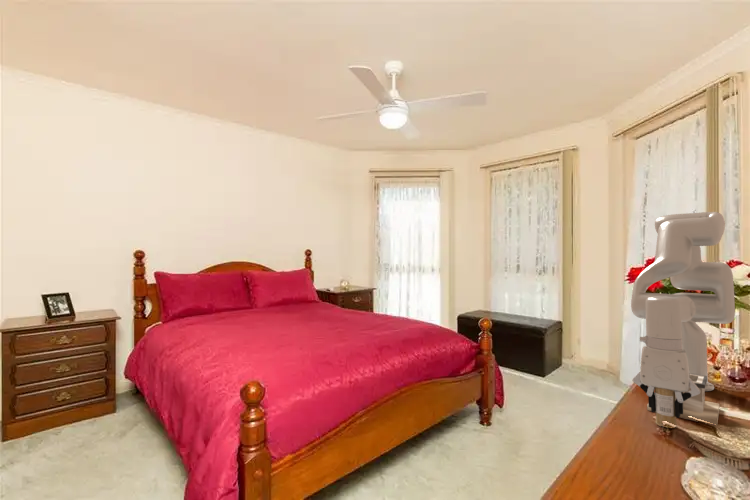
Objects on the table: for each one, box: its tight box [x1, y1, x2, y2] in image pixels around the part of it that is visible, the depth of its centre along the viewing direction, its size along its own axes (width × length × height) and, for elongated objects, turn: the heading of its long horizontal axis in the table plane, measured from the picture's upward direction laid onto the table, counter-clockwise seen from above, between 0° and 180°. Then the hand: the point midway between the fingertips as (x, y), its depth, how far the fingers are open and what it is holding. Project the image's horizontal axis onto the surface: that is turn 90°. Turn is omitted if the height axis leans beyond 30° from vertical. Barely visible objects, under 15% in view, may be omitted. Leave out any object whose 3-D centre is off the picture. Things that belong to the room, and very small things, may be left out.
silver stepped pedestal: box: [646, 373, 720, 426], centre depth 110 cm, size 15×15×10 cm
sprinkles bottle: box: [654, 387, 678, 427], centre depth 99 cm, size 5×5×14 cm
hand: (665, 412), depth 99 cm, fingers closed on sprinkles bottle, 4 cm apart
